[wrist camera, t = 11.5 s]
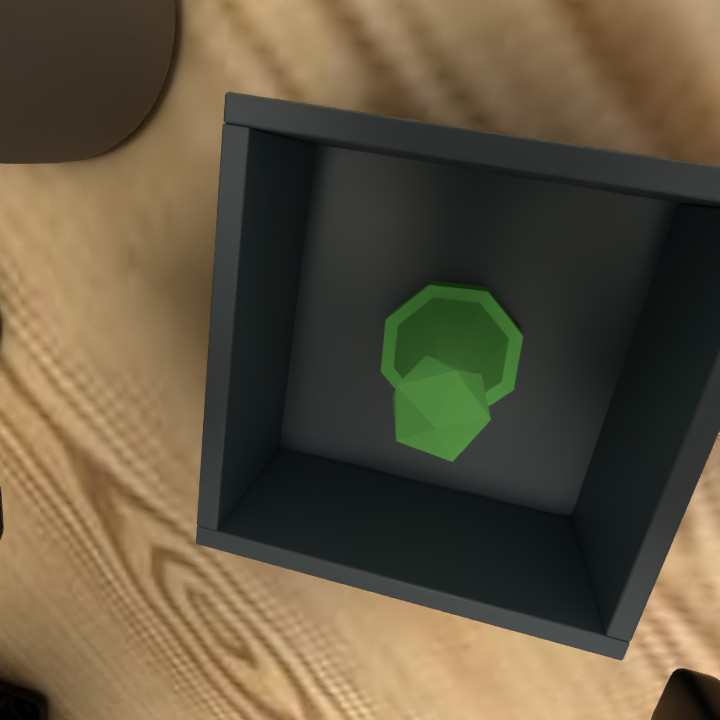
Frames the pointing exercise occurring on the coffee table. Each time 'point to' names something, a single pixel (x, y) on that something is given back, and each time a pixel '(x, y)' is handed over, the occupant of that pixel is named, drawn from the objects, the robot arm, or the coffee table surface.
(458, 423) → the game piece
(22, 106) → the mug
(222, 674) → the coffee table surface
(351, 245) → the bin
